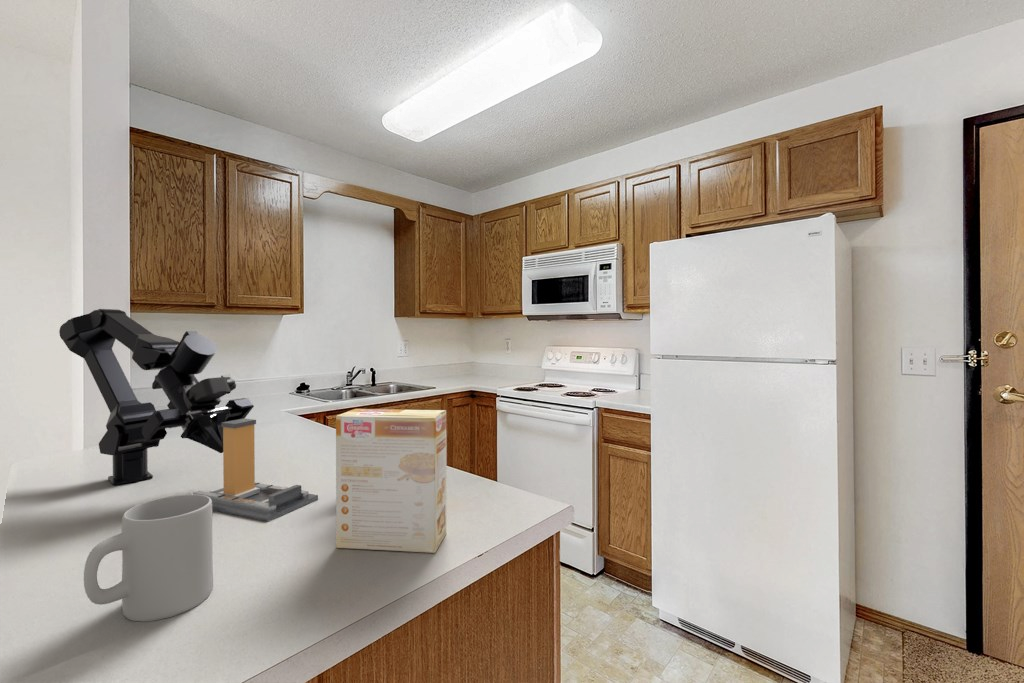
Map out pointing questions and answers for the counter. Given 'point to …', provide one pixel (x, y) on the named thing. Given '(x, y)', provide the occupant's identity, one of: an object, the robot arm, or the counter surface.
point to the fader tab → (239, 458)
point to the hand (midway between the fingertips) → (224, 451)
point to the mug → (158, 558)
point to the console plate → (261, 501)
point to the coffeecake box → (391, 479)
